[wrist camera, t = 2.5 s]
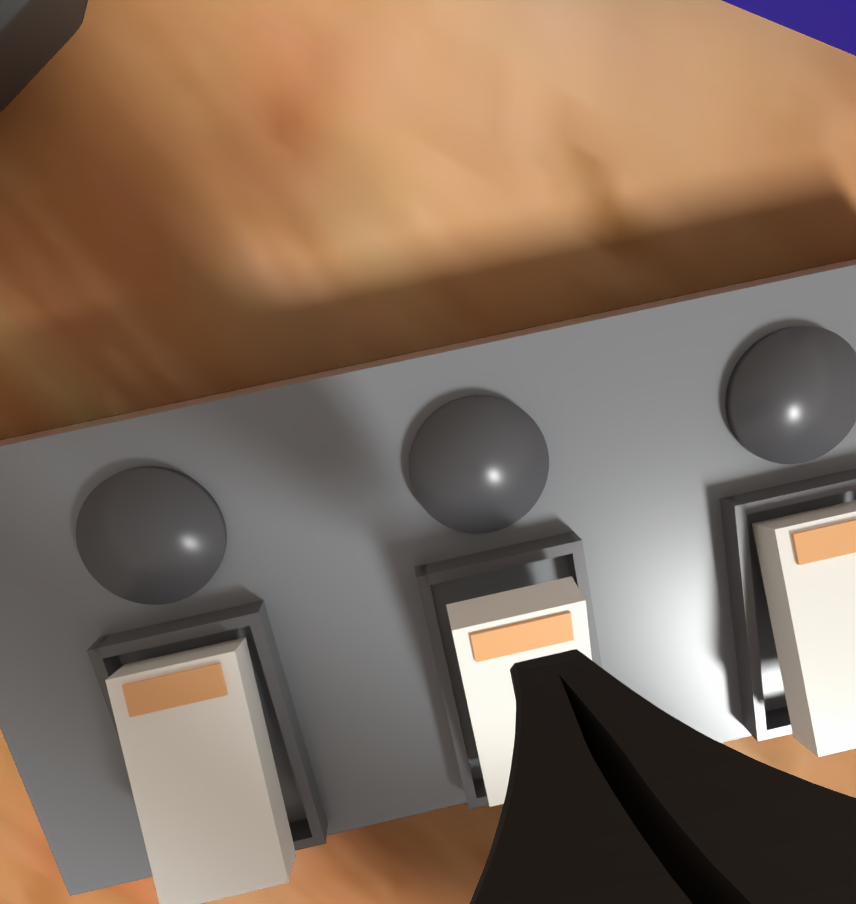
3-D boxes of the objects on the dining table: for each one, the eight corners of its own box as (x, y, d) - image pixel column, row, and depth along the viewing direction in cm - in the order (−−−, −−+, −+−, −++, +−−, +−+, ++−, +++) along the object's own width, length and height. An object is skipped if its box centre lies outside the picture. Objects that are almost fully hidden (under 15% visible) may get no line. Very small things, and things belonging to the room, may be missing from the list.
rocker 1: (295, 854, 16) (288, 885, 15) (177, 882, 16) (160, 915, 15) (245, 637, 16) (233, 652, 15) (124, 664, 16) (103, 681, 15)
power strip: (1094, 586, 21) (1240, 639, 18) (114, 813, 20) (56, 919, 17) (1110, 204, 19) (1286, 175, 15) (-25, 445, 18) (-131, 475, 14)
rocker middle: (591, 749, 17) (605, 782, 16) (482, 775, 17) (490, 809, 16) (571, 576, 15) (587, 601, 14) (445, 604, 15) (452, 633, 14)
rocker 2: (905, 710, 16) (940, 730, 15) (793, 737, 16) (820, 758, 15) (865, 498, 16) (898, 502, 15) (751, 523, 16) (776, 530, 15)
